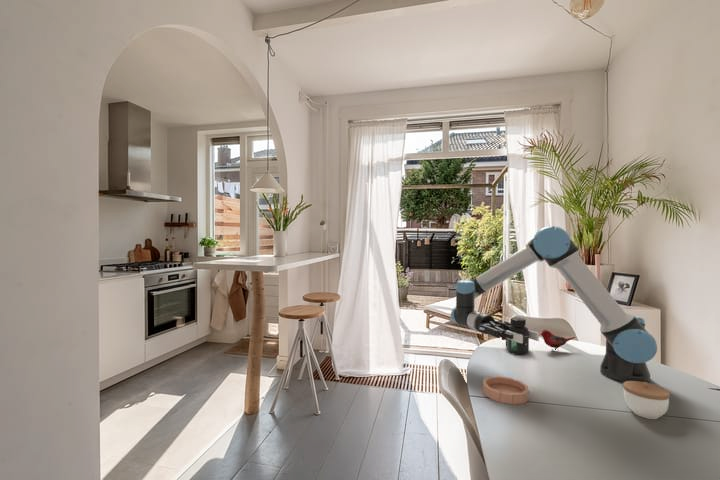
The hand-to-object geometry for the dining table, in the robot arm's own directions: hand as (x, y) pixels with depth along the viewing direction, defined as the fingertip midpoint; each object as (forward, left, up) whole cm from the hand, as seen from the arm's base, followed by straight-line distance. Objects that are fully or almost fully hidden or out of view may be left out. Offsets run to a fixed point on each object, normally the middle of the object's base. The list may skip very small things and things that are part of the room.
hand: (530, 338), depth 117 cm
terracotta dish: (+4, +8, -18) cm, 21 cm away
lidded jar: (-29, -12, -19) cm, 36 cm away
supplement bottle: (+5, -1, -7) cm, 8 cm away
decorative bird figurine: (+11, -54, -19) cm, 58 cm away
